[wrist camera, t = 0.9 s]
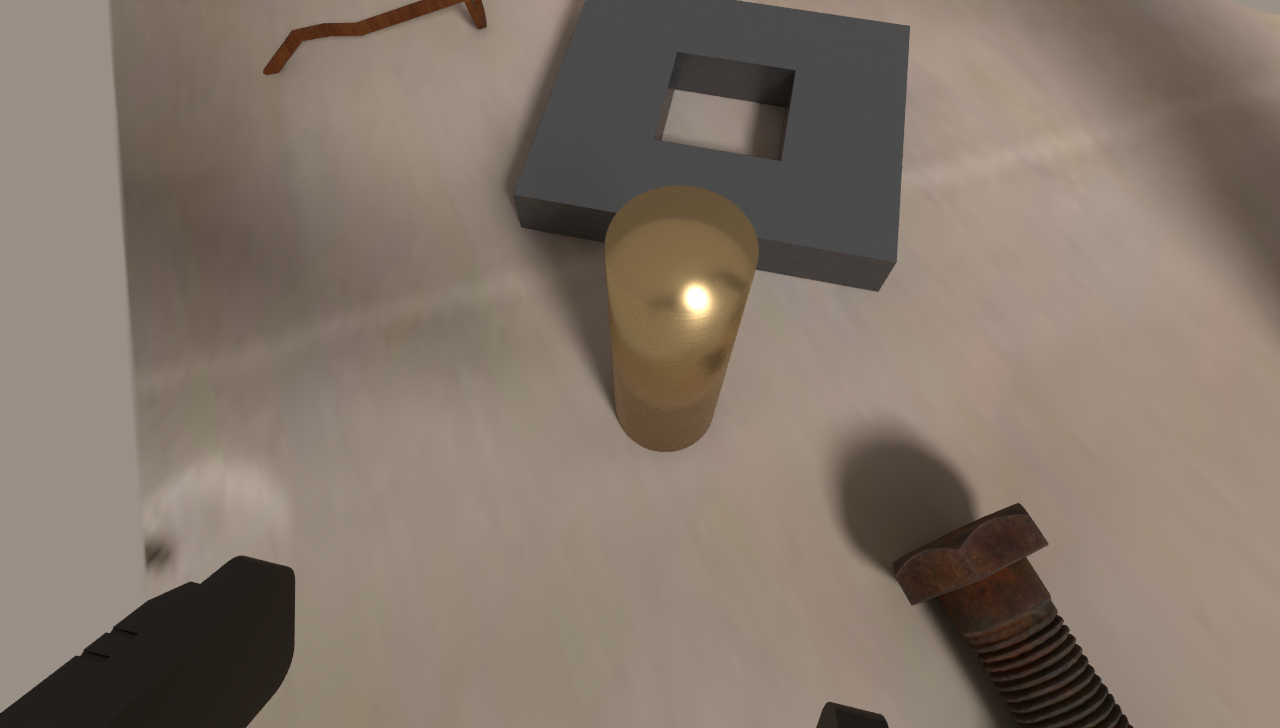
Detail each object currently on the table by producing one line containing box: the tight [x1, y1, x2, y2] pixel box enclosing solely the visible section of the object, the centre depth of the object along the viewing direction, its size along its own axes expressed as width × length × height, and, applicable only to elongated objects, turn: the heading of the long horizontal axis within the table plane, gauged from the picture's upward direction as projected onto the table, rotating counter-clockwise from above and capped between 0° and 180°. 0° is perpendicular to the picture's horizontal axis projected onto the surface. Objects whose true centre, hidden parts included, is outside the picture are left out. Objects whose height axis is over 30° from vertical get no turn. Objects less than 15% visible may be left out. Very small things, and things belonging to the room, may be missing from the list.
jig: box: [513, 0, 910, 291], centre depth 36 cm, size 18×16×2 cm
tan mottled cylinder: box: [605, 185, 759, 452], centre depth 25 cm, size 4×4×12 cm
